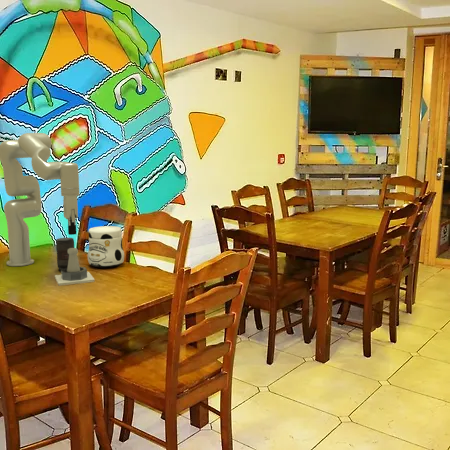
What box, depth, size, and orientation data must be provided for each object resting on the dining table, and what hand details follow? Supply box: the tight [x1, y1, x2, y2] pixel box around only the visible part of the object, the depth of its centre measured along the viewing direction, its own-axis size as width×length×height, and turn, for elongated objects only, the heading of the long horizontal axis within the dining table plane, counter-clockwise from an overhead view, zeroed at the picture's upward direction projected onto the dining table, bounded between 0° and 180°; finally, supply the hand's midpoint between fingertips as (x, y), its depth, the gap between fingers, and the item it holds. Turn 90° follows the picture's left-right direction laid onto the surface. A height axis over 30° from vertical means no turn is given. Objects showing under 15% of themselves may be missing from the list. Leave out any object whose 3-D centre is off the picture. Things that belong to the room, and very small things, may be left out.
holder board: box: [54, 271, 95, 286], centre depth 241 cm, size 14×15×1 cm
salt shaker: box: [67, 247, 81, 272], centre depth 240 cm, size 6×6×13 cm
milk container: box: [87, 225, 125, 269], centre depth 265 cm, size 17×17×18 cm
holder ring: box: [60, 266, 88, 281], centre depth 241 cm, size 10×10×4 cm
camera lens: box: [55, 237, 75, 273], centre depth 256 cm, size 8×8×15 cm
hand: (72, 234), depth 238 cm, fingers closed
